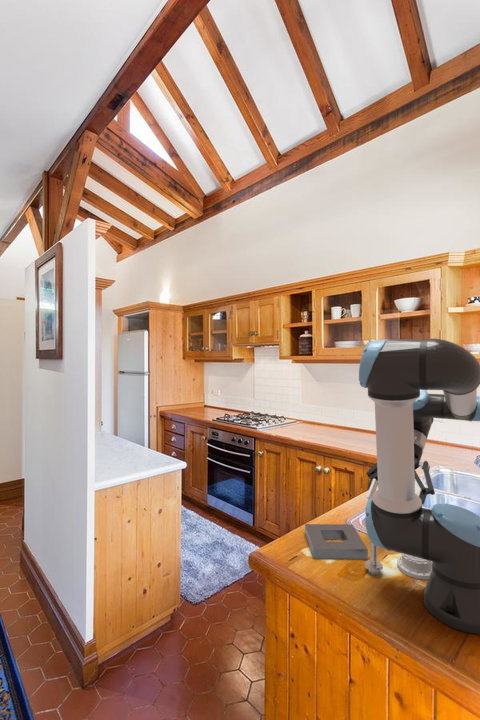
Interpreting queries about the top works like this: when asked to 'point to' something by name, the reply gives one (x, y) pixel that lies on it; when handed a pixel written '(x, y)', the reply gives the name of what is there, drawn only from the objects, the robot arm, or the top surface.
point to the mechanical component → (414, 566)
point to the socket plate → (335, 550)
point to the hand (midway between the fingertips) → (390, 505)
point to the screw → (373, 561)
